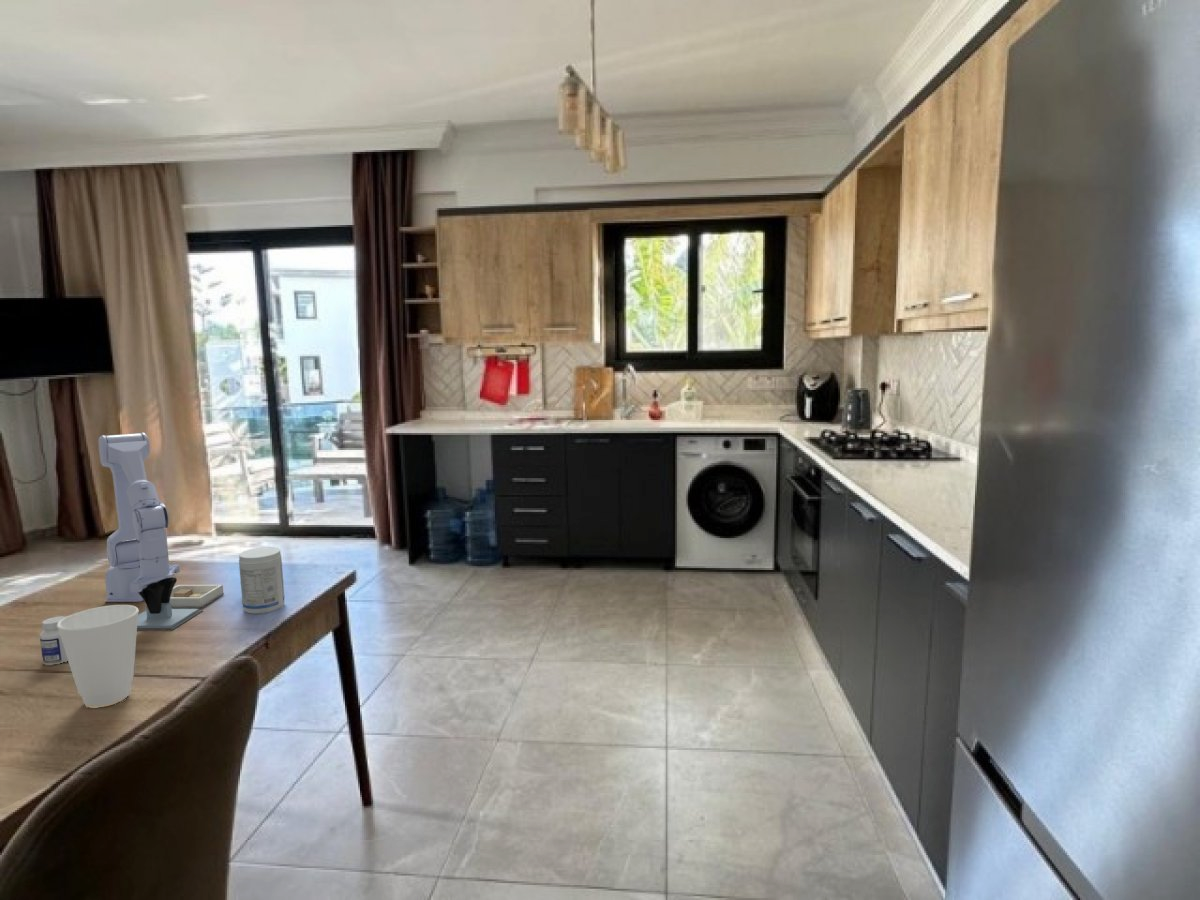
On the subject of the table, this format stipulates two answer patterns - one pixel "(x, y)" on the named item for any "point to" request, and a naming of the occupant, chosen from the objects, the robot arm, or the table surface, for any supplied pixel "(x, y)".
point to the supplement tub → (261, 580)
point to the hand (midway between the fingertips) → (159, 610)
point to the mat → (174, 626)
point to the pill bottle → (52, 642)
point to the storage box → (194, 595)
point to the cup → (101, 651)
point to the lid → (164, 617)
